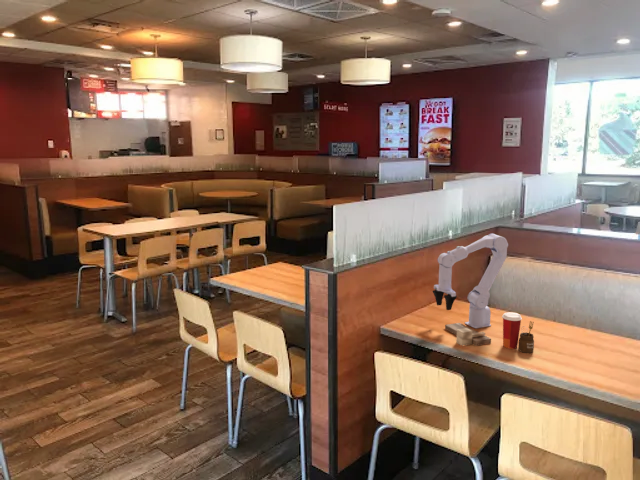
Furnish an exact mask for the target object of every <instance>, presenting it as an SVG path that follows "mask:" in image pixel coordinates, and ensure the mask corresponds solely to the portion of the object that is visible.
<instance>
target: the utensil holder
mask: <svg viewBox="0 0 640 480" xmlns="http://www.w3.org/2000/svg"><path fill="white" fill-rule="evenodd" d="M533 327H534V321H532V320H530V321H529V326H528V329H526V332H521V333H519V338H518V345H517V348H518V351H520V352H521V353H524V354H531V353H533V352H534V349H535V340H534V334H533V333H531V330H533ZM523 328H525V326H522V327H521V328H520V329H521V330H520V331H523ZM528 331H529V332H528Z"/></svg>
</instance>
